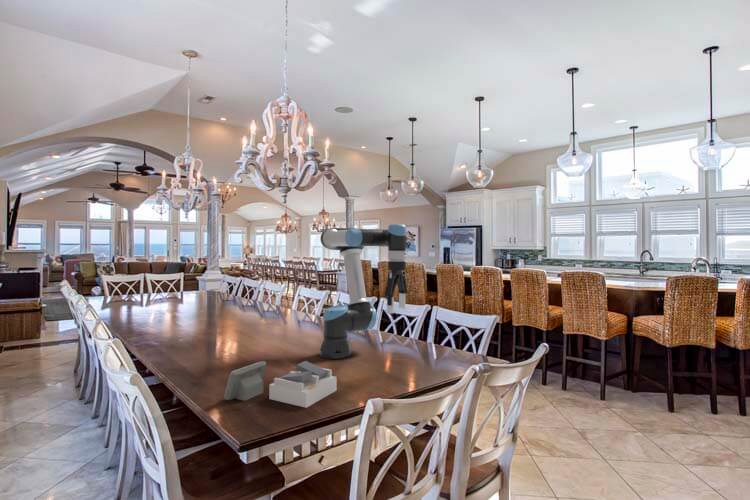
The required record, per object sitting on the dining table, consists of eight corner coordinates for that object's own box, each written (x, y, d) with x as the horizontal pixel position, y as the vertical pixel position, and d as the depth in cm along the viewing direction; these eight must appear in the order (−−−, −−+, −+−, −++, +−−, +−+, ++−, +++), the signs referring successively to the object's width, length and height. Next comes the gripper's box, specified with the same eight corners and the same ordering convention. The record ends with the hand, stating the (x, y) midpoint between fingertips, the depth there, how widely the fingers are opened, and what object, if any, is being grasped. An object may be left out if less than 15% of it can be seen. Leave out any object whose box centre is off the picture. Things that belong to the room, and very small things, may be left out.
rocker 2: (295, 370, 149) (296, 364, 148) (304, 366, 153) (306, 360, 153) (317, 380, 144) (318, 374, 144) (326, 376, 149) (327, 370, 149)
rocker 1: (280, 384, 140) (279, 377, 141) (290, 379, 145) (289, 373, 145) (302, 382, 136) (301, 375, 136) (312, 377, 141) (311, 371, 141)
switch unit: (269, 398, 141) (269, 377, 140) (301, 383, 156) (301, 364, 156) (306, 407, 133) (306, 385, 133) (336, 390, 149) (336, 370, 149)
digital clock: (259, 386, 153) (259, 358, 153) (273, 392, 147) (273, 362, 147) (218, 398, 141) (218, 368, 141) (232, 405, 135) (232, 373, 135)
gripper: (394, 262, 159) (393, 316, 159) (414, 259, 181) (414, 307, 182) (376, 261, 162) (376, 314, 162) (399, 259, 185) (398, 305, 185)
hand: (396, 310), depth 172 cm, fingers open, 13 cm apart
